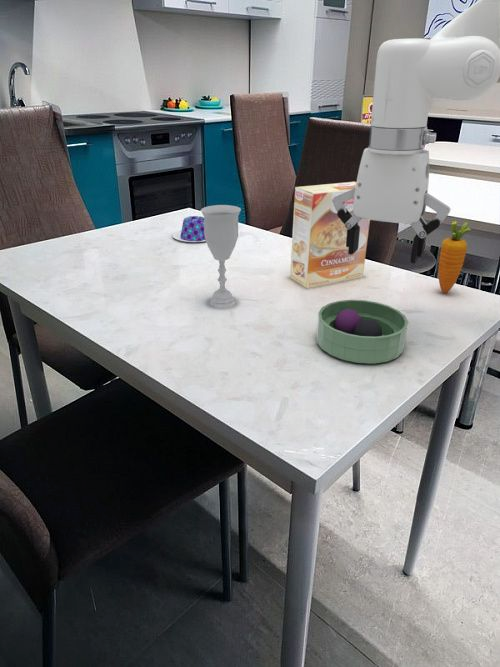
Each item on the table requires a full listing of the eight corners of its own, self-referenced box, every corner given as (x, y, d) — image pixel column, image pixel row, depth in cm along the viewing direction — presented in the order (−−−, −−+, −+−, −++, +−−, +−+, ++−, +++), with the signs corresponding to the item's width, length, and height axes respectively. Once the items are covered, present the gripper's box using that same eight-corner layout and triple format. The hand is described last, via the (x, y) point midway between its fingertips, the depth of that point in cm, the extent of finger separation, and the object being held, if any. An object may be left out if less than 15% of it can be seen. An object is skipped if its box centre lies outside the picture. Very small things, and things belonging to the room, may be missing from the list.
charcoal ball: (374, 313, 82) (392, 330, 80) (360, 333, 84) (378, 351, 82) (357, 313, 79) (375, 331, 77) (343, 334, 82) (361, 353, 79)
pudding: (181, 230, 141) (180, 211, 139) (222, 233, 139) (222, 214, 137) (166, 242, 131) (165, 222, 128) (211, 246, 129) (210, 225, 126)
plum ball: (361, 337, 85) (343, 322, 88) (370, 316, 83) (351, 302, 85) (344, 343, 83) (326, 328, 85) (353, 322, 80) (334, 307, 82)
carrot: (451, 289, 105) (467, 217, 98) (461, 298, 100) (478, 224, 93) (428, 289, 105) (441, 217, 98) (436, 298, 100) (451, 224, 93)
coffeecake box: (306, 289, 104) (313, 193, 95) (288, 278, 109) (293, 186, 100) (364, 278, 110) (375, 186, 101) (344, 267, 115) (353, 180, 106)
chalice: (224, 293, 101) (223, 203, 93) (248, 303, 97) (249, 209, 89) (196, 303, 97) (192, 209, 89) (220, 314, 93) (218, 216, 84)
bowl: (360, 319, 91) (363, 293, 89) (421, 351, 81) (427, 323, 79) (299, 337, 85) (300, 311, 82) (357, 376, 74) (360, 346, 72)
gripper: (465, 139, 70) (444, 257, 78) (345, 134, 77) (337, 242, 85) (457, 146, 65) (436, 272, 72) (329, 140, 72) (322, 255, 80)
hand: (383, 256), depth 79 cm, fingers open, 9 cm apart
